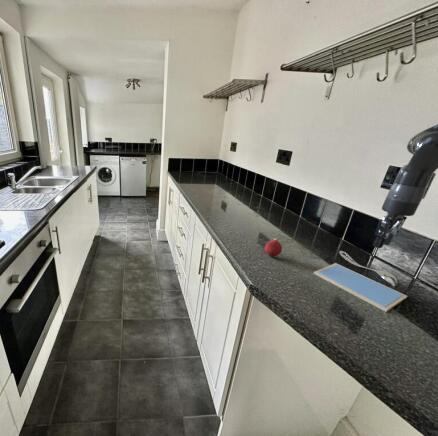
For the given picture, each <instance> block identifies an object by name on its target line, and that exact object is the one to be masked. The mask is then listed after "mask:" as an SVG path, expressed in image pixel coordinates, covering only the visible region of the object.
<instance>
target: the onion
mask: <svg viewBox="0 0 438 436" xmlns="http://www.w3.org/2000/svg"><path fill="white" fill-rule="evenodd" d="M282 250H283V247H282V245H281V243H280V242H279V239H278V238H274V239H273V240H269V241H267V243H266V244H265V246H264V252H265V253H266V254H267V256H269V257H271V258H273V257H277V256H279V255H281V253H282Z"/></svg>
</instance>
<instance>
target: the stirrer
mask: <svg viewBox="0 0 438 436" xmlns="http://www.w3.org/2000/svg"><path fill="white" fill-rule="evenodd" d="M338 254H339V255H340V257H342V259H344V260H345V261H347V262H348V263H350V264H352V265H354V266H356V267H358V268H361V269H366V270H369V271H372V272H374V273H377V274H378V276H380V277H381V279H382V278H383V280H384V281H386V282H387V283H388V284H389V285H390V286H392V287H397V286H398V282H399V281H398V279H397V278H396V276H395V275H394V274H392V273H390V272H387V271H383V270H377V269H374V268H369V267H366V266H363V265H361V264H359V263H358V262H356V261H355V260H354V259H353V258H352V256H350V255H349V254H348V253H347V252H346V251H343V250H339V251H338Z"/></svg>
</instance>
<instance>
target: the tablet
mask: <svg viewBox="0 0 438 436" xmlns="http://www.w3.org/2000/svg"><path fill="white" fill-rule="evenodd" d="M313 275H315V276H317V277H318V278H321V279H322V280H325V281H327V282H328V283H330V284H332V285H334V286H336V287H338V288H339V289H342V290H343V291H345V292H347V293H349V294H351V295H353V296H355V297H357V298H358V299H360V300H362V301H364V302H366V303H368V304H370V305H372V306H374V307H376V308H378V309H379V310H381V311H383V312H385V313H388V312H389V311H391V310H392V309H393V308H394V307H396V306H398V305H400V304H401V303H402V302H404V301H405V300H407V299H408V295H407V294H404V293H402V292H400V291H397V290H395V289H393V288H391V287H389V286H387V285H384V284H382V283H381V282H378V281H377V280H376V281H375V280H373V279H372V278H369V277H367V276H365V275H363V274H361V273H358V272H356V271H355V270H352V269H350V268H347V267H345V266H343V265H341V264H339V263H337V262H335V263H332V264H330V265H327V266H325V267H323V268H319V269H318V270H315V271H313Z"/></svg>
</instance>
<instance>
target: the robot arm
mask: <svg viewBox="0 0 438 436" xmlns="http://www.w3.org/2000/svg"><path fill="white" fill-rule="evenodd" d="M406 149H407V152H408V153H409V154H411V155H412V157H411V158H410V160H409V161H408V163H406V164H405V165H403V166H401V168H400V169H399V171H398V173H397V175H396V177H395V179H394V182H393V183H392V185H391V187H390V188H389V190H388V193H387V195H386V197H385V199H384V201H383V204H382V205H381V206H382V207H381V210H382V211H384V212H386V215H385V216H383V217H382V219H379V220H378V223H377V225H376V229H375V231H374V236H376V237H375V240H374V241H373V244H372V246H373V247H375V248H377V249H382V248H383V246H384V245H385V246H389V245H390V244H391V242H392V240H393V238H394V236H396V235H397V234H398V233H399V232H400V230H401V228H402V227H403V225H404V224H405V222H406V220H407V219H408V217H413V216H414V215H415V214H416V212H417V210H418V208H419V206H420V205H421V202H422V200H423V199H424V196H425V194H426V190H427V188H428V186H429V185H430V182H431V180H432V177H433V176H434V174H435V172H436V171H437V170H438V123H437V124H435V125H433V126H431V127H428V128H426V129H424V130H422V131H420V132H418V133H416V134H414V136H412V137H411V138H410V139H409V140H408V142H407V144H406ZM382 232H383V233H382Z"/></svg>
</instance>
